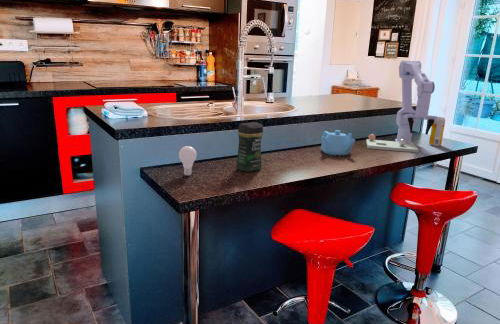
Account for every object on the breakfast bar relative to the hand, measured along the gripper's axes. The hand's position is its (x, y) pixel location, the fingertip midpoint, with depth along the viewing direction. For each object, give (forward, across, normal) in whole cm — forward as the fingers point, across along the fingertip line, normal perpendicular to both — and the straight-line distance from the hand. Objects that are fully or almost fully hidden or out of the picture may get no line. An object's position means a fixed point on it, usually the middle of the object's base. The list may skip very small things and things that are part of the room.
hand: (418, 133), depth 193 cm
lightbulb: (+9, -90, -80) cm, 121 cm away
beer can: (+9, +12, +17) cm, 23 cm away
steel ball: (+5, -7, 0) cm, 9 cm away
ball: (+5, -22, +8) cm, 23 cm away
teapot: (+9, -39, -22) cm, 46 cm away
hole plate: (+8, -12, +2) cm, 15 cm away
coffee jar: (+9, -71, -64) cm, 96 cm away
